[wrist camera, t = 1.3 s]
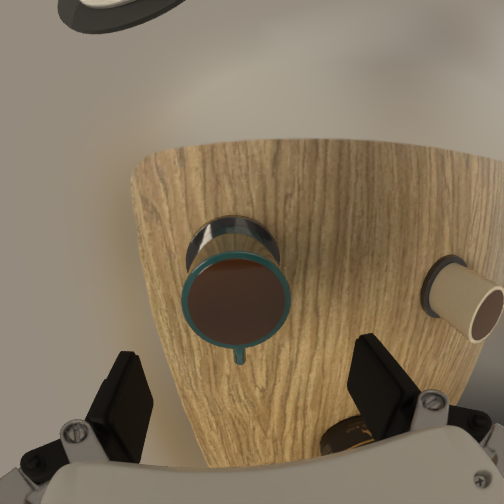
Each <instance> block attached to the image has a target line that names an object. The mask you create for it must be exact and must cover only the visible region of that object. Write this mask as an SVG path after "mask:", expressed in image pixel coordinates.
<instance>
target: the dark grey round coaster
mask: <svg viewBox="0 0 504 504" xmlns="http://www.w3.org/2000/svg"><path fill="white" fill-rule="evenodd" d="M451 263H459V264H461V265H463V266H465V267H467V266H466V263H465V262H464V260H463V259H461V258H460V257H458V256H456V255H447V256H444V257H443V258H441V259H440V260H438V261H437V262H436V263H435V264H434V265H433V267H432V268H431V269H430V271H429V272H428V274H427V276H426V278H425V281H424V283H423V286H422V291H421V305H422V308H423V310H424V311H425V312H426V313H427V314H428V315H429V316H431V317H433V318H440V316H439V315H437V314H436V313H435V312H434V311H433V310H432V309H431V307H430V304H429V294H430V290H431V287H432V284H433V282H434V280H435V278H436V276H437V275H438V273H439V272H440V271H441V270H442V269H443V268H444V267H445V266H447V265H448V264H451Z"/></svg>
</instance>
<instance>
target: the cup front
mask: <svg viewBox="0 0 504 504" xmlns="http://www.w3.org/2000/svg"><path fill="white" fill-rule="evenodd" d="M181 303H182V310H183V314H184V316H185V319H186V321H187V323H188V324H189V326H190V327H191V328H192V330H193V331H194V332H195V333H196V334H197V335H198V336H200V337H201V338H202V339H204V340H205V341H207V342H209V343H211V344H213V345H216V346H219V347H223V348H230V349H233V356H234V362H235V363H236V364H237V365H243V364H244V363H245V361H246V352H245V348H248V347H252V346H255V345H258V344H260V343H262V342H264V341H266V340H267V339H269V338H271V337H272V336H273V335H274V334H275V333H276V332H277V331H278V330H279V329H280V328H281V327H282V325H283V324H284V322H285V320H286V318H287V316H288V314H289V310H290V306H291V292H290V287H289V284H288V281H287V279H286V278H285V276H284V274H283V272H282V270H281V268H280V266H279V265H278V263H277V261H276V259H275V257H274V256H273V254H272V252H271V250H270V248H269V247H268V245H267V243H266V242H265V240H264V239H263V238H262V237H261V236H260V235H259V234H258V233H256V232H255V231H253V230H251V229H249V228H247V227H243V226H237V225H229V226H223V227H220V228H217V229H215V230H213V231H211V232H210V233H209V234H207V235H206V236H205V237H204V238H203V239H202V241H201V242H200V243H199V245H198V247H197V249H196V252H195V254H194V257H193V260H192V263H191V266H190V269H189V272H188V275H187V278H186V281H185V284H184V287H183V291H182V298H181Z"/></svg>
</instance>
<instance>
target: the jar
mask: <svg viewBox="0 0 504 504" xmlns="http://www.w3.org/2000/svg"><path fill="white" fill-rule="evenodd" d="M371 443H375V441H374V439H373V437H372V435H371V433H370V431H369V429H368V427H367V425H366V423H365V422H364V420H363V418H362V416H357V417H353V418H349V419H347V420H344V421H342V422H340V423H338V424H336V425H335V426H333V427H332V428H331V429H329V430H328V431H327V432H326V433H325V435H324V436H323V438H322V440H321V444H320V450H321V455H322V456H324V455H329V454H333V453H338V452H342V451H346V450H350V449H353V448H357V447H361V446H364V445H368V444H371Z"/></svg>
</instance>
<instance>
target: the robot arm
mask: <svg viewBox="0 0 504 504" xmlns="http://www.w3.org/2000/svg"><path fill="white" fill-rule="evenodd" d="M80 1H81V2H82V4H84V5H86V6H87V7H90V8H94V9H106V8H114V7H118V6H122V5H125V4H128V3H131V2H134V1H137V0H80ZM347 388H348V391H349V393H350V395H351V397H352V399H353V401H354V403H355V404H356V406H357V408H358V410H359V412H360V414H361V416H362V418H363V420H364V422H365V423H366V425H367V427H368V429H369V431H370V433H371V435H372V437H373V439H374V441H375V443H371V444H368V445H364V446H361V447H357V448H353V449H350V450H346V451H342V452H338V453H333V454H329V455H324V456H320V457H315V458H309V459H304V460H298V461H291V462H285V463H277V464H269V465H259V466H246V467H227V468H185V467H168V466H154V465H143V464H139V463H140V460H141V455H142V451H143V446H144V442H145V438H146V433H147V429H148V425H149V421H150V417H151V413H152V408H153V397H152V395H151V392H150V389H149V386H148V383H147V380H146V377H145V374H144V371H143V368H142V365H141V361H140V358H139V356H138V355H135V353H134V352H130V351H121V352H120V353H119V355H118V357H117V359H116V361H115V363H114V365H113V367H112V369H111V371H110V373H109V375H108V377H107V379H105V380H104V381H103V383H102V385H101V387H100V389H99V391H98V393H97V395H96V397H95V399H94V401H93V403H92V405H91V408H90V410H89V412H88V414H87V416H86V418H85V420H81V419H75V420H71V421H69V422H67V423H65V424H64V425H63V426H62V428H61V430H60V439H58V440H56V441H53V442H51V443H49V444H46V445H44V446H41V447H39V448H36V449H34V450H31V451H29V452H27V453H25V454H24V456H22V458H21V462H20V466H21V467H20V468H19V469H17V468H16V467H15V468H14V469H12V470H11V471H10V472H8V473H7V474H6V475H4V476H3V477H2V478H0V504H504V426H502V425H500V424H497V423H495V425H492V421H491V418H490V417H489V416H488V415H487V414H486V413H484V412H482V411H478V410H472V409H467V408H462V407H457V406H453V405H449V399H448V397H447V396H446V395H445V394H444V393H443V392H441V391H439V390H436V389H428V390H425V391H423V392H421V391H420V390H419V389H418V387H417V386H416V385H415V383H414V382H413V381H412V380H411V378H410V377H409V376H408V375H407V373H406V372H405V371H404V370H403V369H402V367H401V366H400V365H399V364H398V362H397V361H396V360H395V359H394V358H393V356H392V355H391V354H390V353H389V352H388V350H387V349H386V348H385V347H384V346H383V344H382V343H381V342H380V341H379V340H378V339H377V337H376V336H375V335H374V334H373V333H369V334H364V335H360V336H359V339H356V341H355V346H354V352H353V357H352V362H351V367H350V372H349V377H348V381H347Z"/></svg>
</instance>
